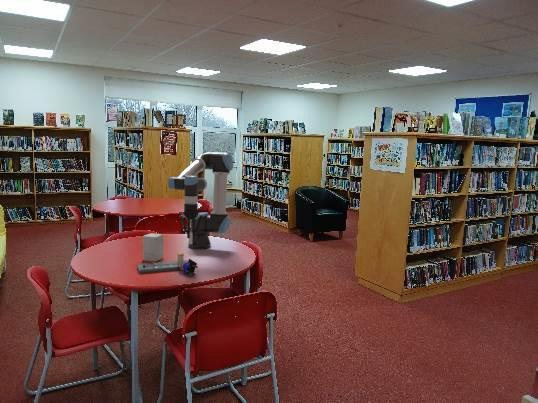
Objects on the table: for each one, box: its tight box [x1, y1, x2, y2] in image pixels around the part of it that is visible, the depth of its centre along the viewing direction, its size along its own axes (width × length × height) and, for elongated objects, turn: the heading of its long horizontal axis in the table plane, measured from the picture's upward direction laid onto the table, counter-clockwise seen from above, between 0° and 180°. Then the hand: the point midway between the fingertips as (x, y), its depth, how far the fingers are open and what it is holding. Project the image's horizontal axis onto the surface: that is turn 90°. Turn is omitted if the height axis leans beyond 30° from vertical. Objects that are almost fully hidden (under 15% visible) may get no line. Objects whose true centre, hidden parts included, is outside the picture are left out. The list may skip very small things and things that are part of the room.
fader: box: [176, 252, 185, 264], centre depth 235 cm, size 3×3×6 cm
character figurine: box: [178, 258, 199, 276], centre depth 224 cm, size 8×7×15 cm
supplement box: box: [142, 232, 164, 263], centre depth 248 cm, size 9×9×15 cm
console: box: [137, 259, 189, 275], centre depth 232 cm, size 28×12×3 cm, turn 111°
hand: (190, 243), depth 235 cm, fingers closed
